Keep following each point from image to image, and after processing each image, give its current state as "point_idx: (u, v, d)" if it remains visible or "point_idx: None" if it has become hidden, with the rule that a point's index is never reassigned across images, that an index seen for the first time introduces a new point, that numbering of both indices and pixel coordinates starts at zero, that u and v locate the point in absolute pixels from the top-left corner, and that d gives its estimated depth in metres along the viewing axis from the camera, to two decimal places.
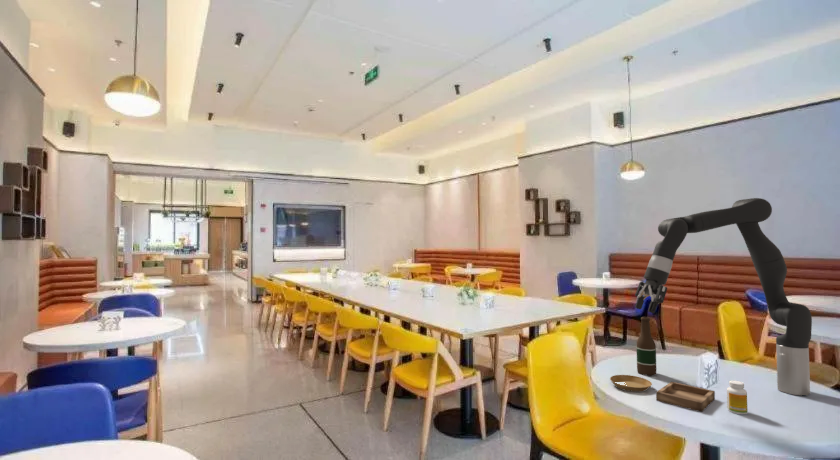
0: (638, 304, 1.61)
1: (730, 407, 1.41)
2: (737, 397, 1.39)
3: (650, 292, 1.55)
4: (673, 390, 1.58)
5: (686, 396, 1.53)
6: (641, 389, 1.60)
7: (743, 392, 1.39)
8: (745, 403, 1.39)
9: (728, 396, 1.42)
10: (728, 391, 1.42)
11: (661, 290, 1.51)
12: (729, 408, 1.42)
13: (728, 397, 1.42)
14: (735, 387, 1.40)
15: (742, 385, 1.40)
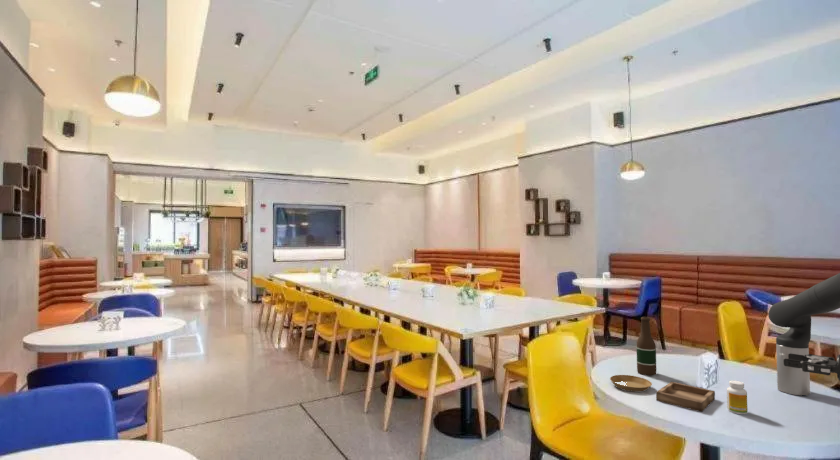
0: None
1: (730, 407, 1.41)
2: (737, 397, 1.39)
3: None
4: (673, 390, 1.58)
5: (686, 396, 1.53)
6: (641, 389, 1.60)
7: (743, 392, 1.39)
8: (745, 403, 1.39)
9: (728, 396, 1.42)
10: (728, 391, 1.42)
11: None
12: (729, 408, 1.42)
13: (728, 397, 1.42)
14: (735, 387, 1.41)
15: (742, 385, 1.40)
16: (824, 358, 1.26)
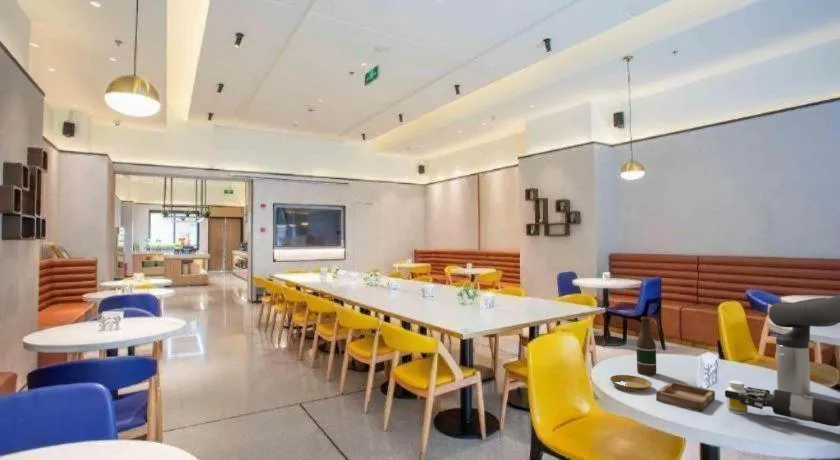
0: None
1: (730, 406, 1.41)
2: None
3: None
4: (673, 390, 1.58)
5: (686, 396, 1.53)
6: (641, 389, 1.60)
7: (743, 392, 1.39)
8: None
9: None
10: None
11: None
12: (729, 408, 1.42)
13: None
14: (735, 387, 1.41)
15: (742, 385, 1.40)
16: (763, 392, 1.37)
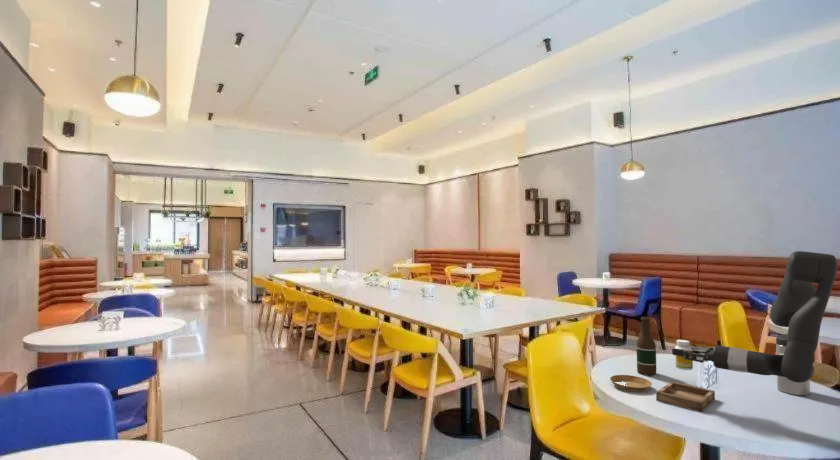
0: None
1: (677, 363, 1.51)
2: None
3: None
4: (673, 390, 1.58)
5: (686, 396, 1.53)
6: (641, 389, 1.60)
7: (688, 349, 1.49)
8: None
9: None
10: None
11: None
12: (676, 365, 1.52)
13: (675, 355, 1.52)
14: (681, 345, 1.51)
15: (687, 343, 1.50)
16: (706, 349, 1.47)
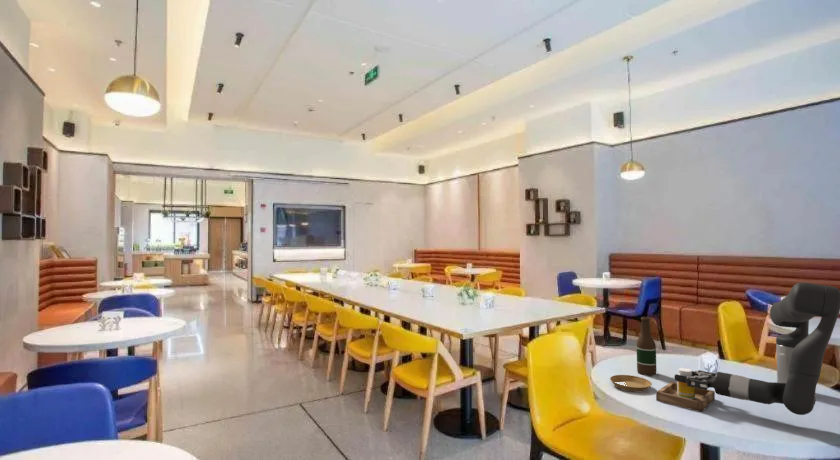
0: None
1: (679, 392, 1.52)
2: (685, 383, 1.50)
3: None
4: (673, 390, 1.58)
5: None
6: (641, 389, 1.60)
7: None
8: (692, 389, 1.50)
9: (677, 383, 1.53)
10: None
11: None
12: (678, 394, 1.52)
13: (677, 384, 1.53)
14: (683, 374, 1.51)
15: (690, 372, 1.50)
16: (707, 374, 1.48)
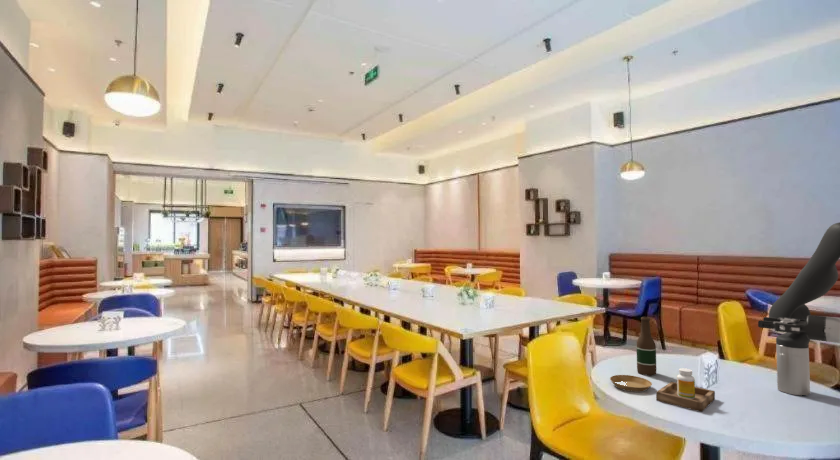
0: None
1: (679, 392, 1.52)
2: (685, 383, 1.50)
3: None
4: (673, 390, 1.58)
5: None
6: (641, 389, 1.60)
7: (691, 379, 1.50)
8: (692, 389, 1.50)
9: (678, 383, 1.53)
10: (678, 378, 1.53)
11: None
12: (678, 394, 1.52)
13: (677, 384, 1.53)
14: (683, 374, 1.51)
15: (690, 372, 1.50)
16: (795, 319, 1.35)
